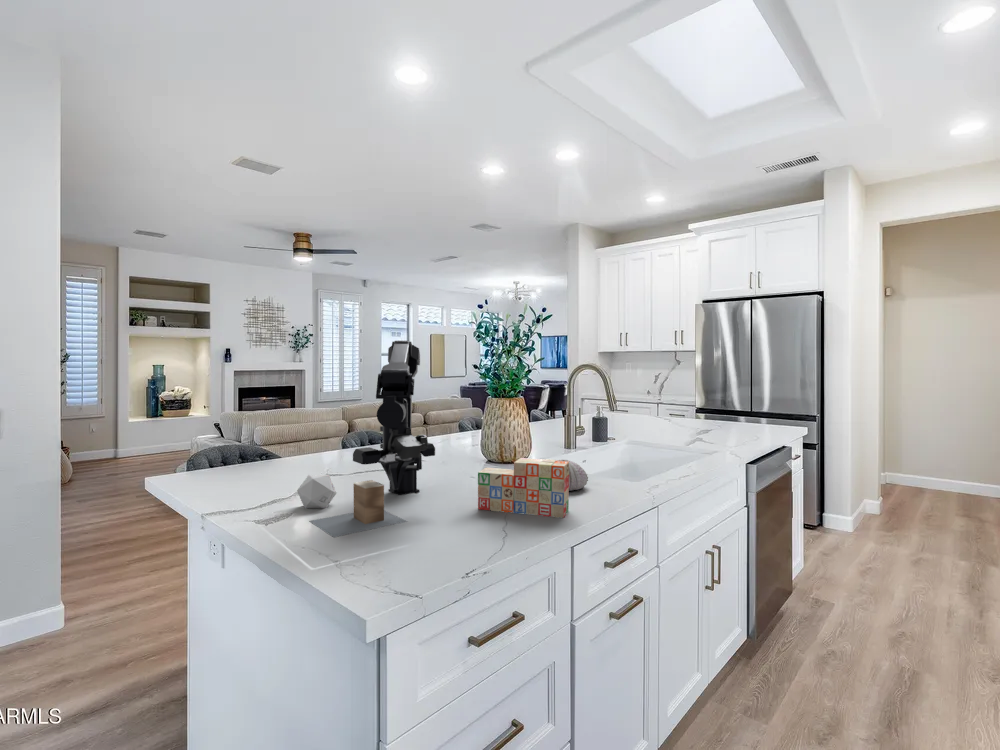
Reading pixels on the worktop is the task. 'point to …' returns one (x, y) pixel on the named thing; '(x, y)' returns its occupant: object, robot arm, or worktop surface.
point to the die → (317, 491)
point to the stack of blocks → (526, 488)
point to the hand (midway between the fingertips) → (395, 489)
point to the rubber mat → (352, 524)
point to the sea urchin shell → (576, 476)
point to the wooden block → (368, 501)
